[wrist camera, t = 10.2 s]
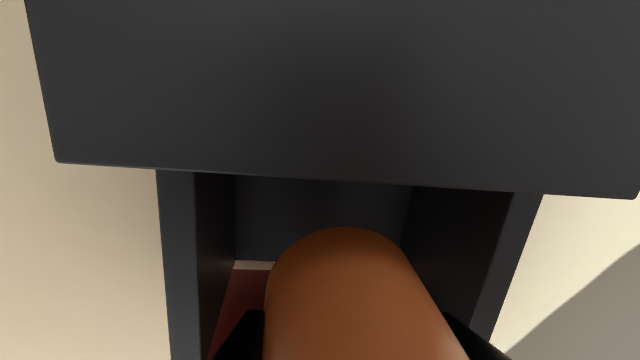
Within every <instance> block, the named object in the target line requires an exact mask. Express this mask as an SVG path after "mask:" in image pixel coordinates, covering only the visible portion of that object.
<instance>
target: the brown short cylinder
mask: <svg viewBox="0 0 640 360" xmlns="http://www.w3.org/2000/svg"><path fill="white" fill-rule="evenodd" d="M260 360H470V359H469V357H468V356H467V354H466V353H465V351H464V349H463V348H462V346H461V345H460V343H459V341H458V340H457V338H456V336H455V335H454V333H453V332H452V330H451V328H450V327H449V325H448V324H447V322H446V320H445V319H444V317H443V316H442V314H441V312H440V311H439V309H438V307H437V306H436V304H435V303H434V301H433V299H432V298H431V296H430V295H429V293H428V291H427V290H426V288H425V287H424V285H423V283H422V282H421V280H420V278H419V277H418V275H417V274H416V272H415V270H414V269H413V267H412V266H411V264H410V262H409V261H408V259H407V257H406V256H405V254H404V253H403V252H402V250H401V249H400V248H399V247H398V246H397V245H396V244H395V243H394V242H392V241H391V240H390V239H388V238H387V237H385V236H383V235H381V234H380V233H377V232H374V231H372V230H369V229H364V228H360V227H351V226H339V227H332V228H327V229H323V230H319V231H316V232H314V233H311V234H309V235H307V236H305V237H303V238H301V239H299V240H298V241H296V242H295V243H294V244H292V245H291V246H290V247H289V248H288V249H286V250H285V251H284V252H283V253H282V255H281V256H280V257H279V258H278V259H277V261H276V262H275V264H274V265H273V267H272V269H271V271H270V274H269V276H268V280H267V284H266V291H265V301H264V322H263V332H262V342H261V351H260Z"/></svg>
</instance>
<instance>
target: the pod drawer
mask: <svg viewBox="0 0 640 360" xmlns="http://www.w3.org/2000/svg"><path fill="white" fill-rule="evenodd" d="M155 170H156V182H157V194H158V206H159V219H160V231H161V243H162V255H163V268H164V280H165V292H166V305H167V317H168V329H169V341H170V354H171V360H210V359H211V358H212V357H213V355H214V354H215V353H216V351H217V350H218V349H219V347H220V346H221V344H222V343H223V342H224V340H225V339H226V338H227V336H228V335H229V333H230V332H231V331H232V329H233V328H234V327H235V325H236V324H237V323H238V321H239V320H240V318H241V317H242V316H243V314H244V313H245V312H246V311H247V310H248V309H262V310H264V301H265V291H266V284H267V280H268V276H269V274H270V271H271V270H243V269H233V266H234V262H235V260H258V261H277V259H278V258H279V257H280V256H281V255H282V253H283V252H284V251H285V250H286V249H288V248H289V247H290V246H291V245H292V244H294V243H295V242H296V241H298V240H299V239H301V238H303V237H305V236H307V235H309V234H311V233H314V232H316V231H319V230H323V229H327V228H332V227H339V226H351V227H360V228H364V229H369V230H372V231H374V232H377V233H380V234H381V235H383V236H385V237H387V238H388V239H390V240H391V241H392V242H394V243H395V244H396V245H397V246H398V247H399V248H400V249H401V250H402V252H403V253H404V254H405V256H406V257H407V259H408V261H409V262H410V264H411V266H412V267H413V269H414V270H415V272H416V274H417V275H418V277H419V278H420V280H421V282H422V283H423V285H424V287H425V288H426V290H427V291H428V293H429V295H430V296H431V298H432V299H433V301H434V303H435V304H436V306H437V307H438V309H439V311H440V312H448V313H450V314H451V315H453V316H454V317H455V318H457V319H458V320H459V321H461V322H462V323H463V324H465V325H466V326H467V327H469V328H470V329H471V330H473V331H474V332H475V333H477V334H478V335H479V336H481V337H482V338H484V339H485V340H486V341H488V342H489V340H490V337H491V335H492V332H493V329H494V327H495V324H496V321H497V319H498V316H499V313H500V311H501V308H502V305H503V302H504V300H505V297H506V294H507V292H508V289H509V286H510V284H511V281H512V278H513V276H514V273H515V270H516V267H517V265H518V262H519V259H520V257H521V254H522V251H523V249H524V246H525V243H526V241H527V238H528V235H529V232H530V230H531V227H532V224H533V222H534V219H535V216H536V214H537V211H538V208H539V206H540V203H541V200H542V197H543V195H544V194H533V193H518V192H502V191H486V190H471V189H455V188H440V187H424V186H408V185H393V184H377V183H361V182H346V181H330V180H315V179H299V178H283V177H268V176H252V175H237V174H221V173H205V172H190V171H174V170H159V169H155Z"/></svg>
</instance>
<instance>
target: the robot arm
mask: <svg viewBox="0 0 640 360" xmlns="http://www.w3.org/2000/svg"><path fill="white" fill-rule="evenodd" d="M441 314H442V316H443V317H444V319H445V320H446V322H447V324H448V325H449V327H450V328H451V330H452V332H453V333H454V335H455V336H456V338H457V340H458V341H459V343H460V345H461V346H462V348H463V349H464V351H465V353H466V354H467V356H468V357H469V359H470V360H512V359H510V358H509V357H508V356H506V355H505V354H504V353H502V352H501V351H500V350H498V349H497V348H496V347H494V346H493V345H492V344H490V343H489V342H488V341H486V340H485V339H484V338H482V337H481V336H479V335H478V334H477V333H475V332H474V331H473V330H471V329H470V328H469V327H467V326H466V325H465V324H463V323H462V322H461V321H459V320H458V319H457V318H455V317H454V316H453V315H451V314H450V313H448V312H441ZM263 322H264V310H262V309H248V310H247V311H246V312H245V313H244V314H243V316H242V317H241V318H240V320H239V321H238V323H237V324H236V325H235V327H234V328H233V329H232V331H231V332H230V333H229V335H228V336H227V338H226V339H225V340H224V342H223V343H222V344H221V346H220V347H219V349H218V350H217V351H216V353H215V354H214V355H213V357H212V358H211V359H210V360H260V351H261V342H262V332H263Z"/></svg>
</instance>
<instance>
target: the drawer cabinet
mask: <svg viewBox="0 0 640 360" xmlns="http://www.w3.org/2000/svg"><path fill="white" fill-rule="evenodd" d="M24 3H25V8H26V13H27V18H28V23H29V28H30V33H31V39H32V44H33V49H34V54H35V59H36V64H37V70H38V75H39V80H40V85H41V90H42V95H43V101H44V106H45V111H46V116H47V121H48V126H49V131H50V137H51V142H52V147H53V152H54V157H55V160H56V162H58V163H65V164H80V165H96V166H112V167H127V168H143V169H159V170H174V171H190V172H205V173H221V174H237V175H252V176H268V177H283V178H299V179H315V180H330V181H346V182H361V183H377V184H393V185H408V186H424V187H440V188H455V189H471V190H486V191H502V192H518V193H533V194H549V195H564V196H580V197H596V198H611V199H627V200H633V199H635V198H636V197H637V195H638V193H639V191H640V0H24Z"/></svg>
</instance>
